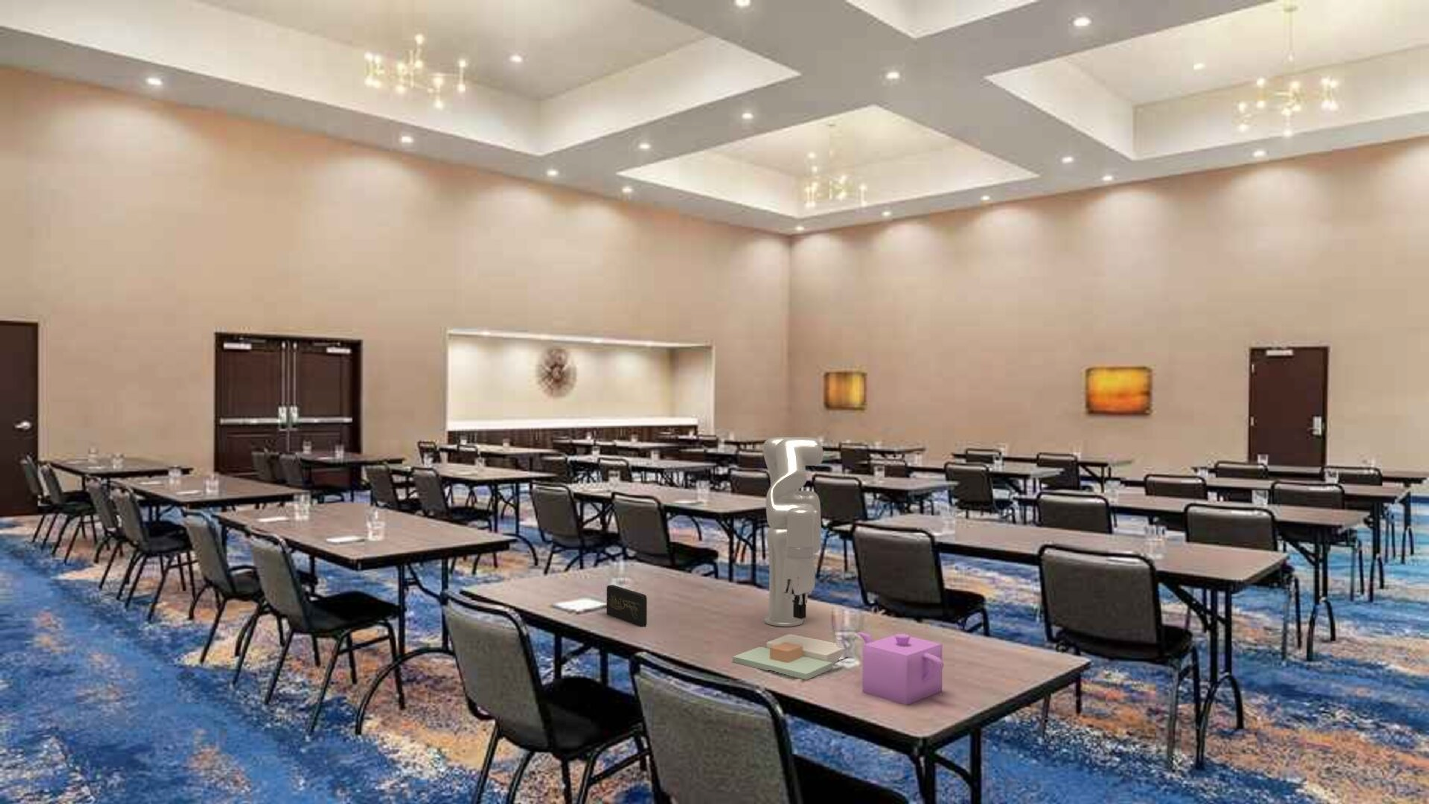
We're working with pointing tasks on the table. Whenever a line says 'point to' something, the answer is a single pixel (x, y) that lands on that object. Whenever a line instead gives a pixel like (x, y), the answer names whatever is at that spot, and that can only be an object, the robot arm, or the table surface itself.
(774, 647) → the terracotta tile
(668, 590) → the table surface
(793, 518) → the robot arm
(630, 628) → the table surface
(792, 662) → the sage mat
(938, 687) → the teapot
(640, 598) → the nameplate
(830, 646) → the plate
